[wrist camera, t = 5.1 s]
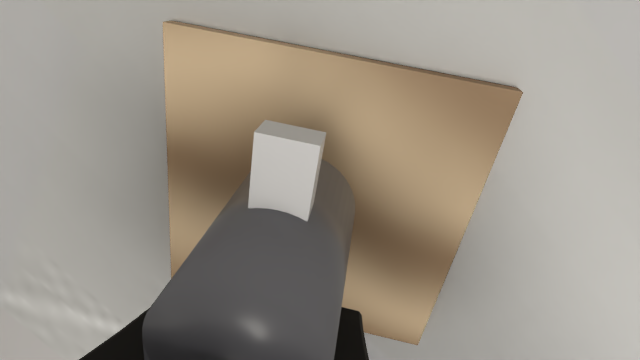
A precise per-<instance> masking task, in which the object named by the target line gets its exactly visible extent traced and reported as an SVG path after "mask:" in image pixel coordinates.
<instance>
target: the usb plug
mask: <svg viewBox="0 0 640 360" xmlns="http://www.w3.org/2000/svg"><path fill="white" fill-rule="evenodd" d="M325 137H326V132H322V131H317V130H312V129H308V128H303V127H298V126H293V125H288V124H284V123H279V122H274V121H269V120H265V121H264V122H263V123H262V124H261V125H260V126H259V127H258V128H257V129H256V131H255V132H254V140H253V152H252V164H251V171H250V173H249V174H248V175H247V177H246V178H245V179H244V181H243V182H242V184H241V185H240V186H239V188H238V189H237V190H236V192H235V193H234V194H233V196H232V197H231V199H230V200H229V201H228V203H227V204H226V205H225V207H224V208H223V209H222V211H221V212H220V213H219V215H218V216H217V218H216V219H215V220H214V222H213V223H212V224H211V226H210V227H209V228H208V230H207V231H206V232H205V234H204V235H203V237H202V238H201V239H200V241H199V242H198V243H197V245H196V246H195V247H194V249H193V250H192V251H191V253H190V254H189V256H188V257H187V258H186V260H185V261H184V262H183V264H182V265H181V266H180V268H179V269H178V271H177V272H176V273H175V275H174V276H173V277H172V279H171V280H170V281H169V283H168V284H167V285H166V287H165V288H164V290H163V291H162V292H161V294H160V295H159V296H158V298H157V299H156V300H155V302H154V303H153V304H152V306H151V307H150V309H149V310H148V312H147V314H146V316H145V318H144V322H143V327H142V339H143V350H144V360H334V356H335V349H336V342H337V335H338V328H339V321H340V314H341V307H342V300H343V293H344V286H345V279H346V272H347V265H348V258H349V251H350V244H351V237H352V230H353V223H354V216H355V199H354V195H353V192H352V189H351V187H350V185H349V183H348V182H347V180H346V179H345V177H344V176H343V175H342V174H341V172H339V171H338V170H337V169H336V168H335V167H334V166H333V165H331V164H330V163H328V162H327V161H325V160H323V159H322V154H323V148H324V143H325Z"/></svg>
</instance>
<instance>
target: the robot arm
mask: <svg viewBox="0 0 640 360" xmlns="http://www.w3.org/2000/svg"><path fill="white" fill-rule="evenodd" d="M149 309H150V308H149ZM149 309H148V310H149ZM148 310H146V311H145V312H144V313H142V314H141V315H140V316H139V317H137V318H136V319H135V320H133V321H132V322H131V323H129V324H128V325H127V326H126V327H124V328H123V329H122V330H120V331H119V332H118V333H116V334H115V335H113V336H112V337H111V338H109V339H108V340H106V341H105V342H103V343H102V344H101V345H99V346H98V347H96V348H95V349H94V350H92V351H91V352H89V353H88V354H86V355H85V356H84V357H82V358H81V359H79V360H144V350H143V339H142V327H143V322H144V318H145V316H146V314H147V312H148ZM334 360H369V358H368V353H367V348H366V343H365V337H364V331H363V322H362V315H361V313H360V312H359V311H356V310H352V309H348V308H344V307H341V314H340V321H339V328H338V335H337V342H336V349H335V356H334Z"/></svg>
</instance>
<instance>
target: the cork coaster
mask: <svg viewBox="0 0 640 360" xmlns="http://www.w3.org/2000/svg"><path fill="white" fill-rule="evenodd" d="M163 44H164V74H165V103H166V133H167V162H168V192H169V221H170V251H171V279H172V277H173V276H174V275H175V273H176V272H177V271H178V269H179V268H180V266H181V265H182V264H183V262H184V261H185V260H186V258H187V257H188V256H189V254H190V253H191V251H192V250H193V249H194V247H195V246H196V245H197V243H198V242H199V241H200V239H201V238H202V237H203V235H204V234H205V232H206V231H207V230H208V228H209V227H210V226H211V224H212V223H213V222H214V220H215V219H216V218H217V216H218V215H219V213H220V212H221V211H222V209H223V208H224V207H225V205H226V204H227V203H228V201H229V200H230V199H231V197H232V196H233V194H234V193H235V192H236V190H237V189H238V188H239V186H240V185H241V184H242V182H243V181H244V179H245V178H246V177H247V175H248V174H249V173H250V171H251V164H252V152H253V140H254V132H255V131H256V129H257V128H258V127H259V126H260V125H261V124H262V123H263V122H264V121H265V120H269V121H274V122H279V123H284V124H288V125H293V126H298V127H303V128H308V129H312V130H317V131H322V132H326V137H325V143H324V148H323V154H322V159H323V160H325V161H327V162H328V163H330V164H331V165H333V166H334V167H335V168H336V169H337V170H338V171H339V172H341V174H342V175H343V176H344V177H345V179H346V180H347V182H348V183H349V185H350V187H351V189H352V192H353V195H354V199H355V216H354V223H353V230H352V237H351V244H350V251H349V258H348V265H347V272H346V279H345V286H344V293H343V300H342V307H344V308H348V309H352V310H356V311H359V312H360V313H361V315H362V322H363V331H364V332H365V333H369V334H373V335H378V336H382V337H386V338H390V339H394V340H398V341H402V342H406V343H411V344H415V345H418V343H419V341H420V338H421V336H422V334H423V331H424V329H425V326H426V324H427V322H428V319H429V317H430V314H431V312H432V310H433V307H434V305H435V302H436V300H437V298H438V295H439V293H440V290H441V288H442V286H443V283H444V281H445V278H446V276H447V274H448V271H449V269H450V266H451V264H452V262H453V259H454V257H455V254H456V252H457V250H458V247H459V245H460V242H461V240H462V238H463V235H464V233H465V230H466V228H467V226H468V223H469V221H470V218H471V216H472V214H473V211H474V209H475V206H476V204H477V202H478V199H479V197H480V194H481V192H482V190H483V187H484V185H485V182H486V180H487V178H488V175H489V173H490V170H491V168H492V166H493V163H494V161H495V158H496V156H497V154H498V151H499V149H500V146H501V144H502V142H503V139H504V137H505V134H506V132H507V130H508V127H509V125H510V122H511V120H512V118H513V115H514V113H515V110H516V108H517V106H518V103H519V101H520V98H521V96H522V94H523V92H522V91H521V90H520V89H518V88H516V87H511V86H506V85H501V84H495V83H490V82H485V81H480V80H475V79H470V78H465V77H459V76H454V75H449V74H444V73H439V72H434V71H429V70H423V69H418V68H413V67H408V66H403V65H398V64H393V63H387V62H382V61H377V60H372V59H367V58H362V57H356V56H351V55H346V54H341V53H336V52H331V51H326V50H320V49H315V48H310V47H305V46H300V45H295V44H290V43H284V42H279V41H274V40H269V39H264V38H259V37H254V36H248V35H243V34H238V33H233V32H228V31H223V30H217V29H212V28H207V27H202V26H197V25H192V24H187V23H181V22H176V21H166V22H163Z"/></svg>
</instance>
